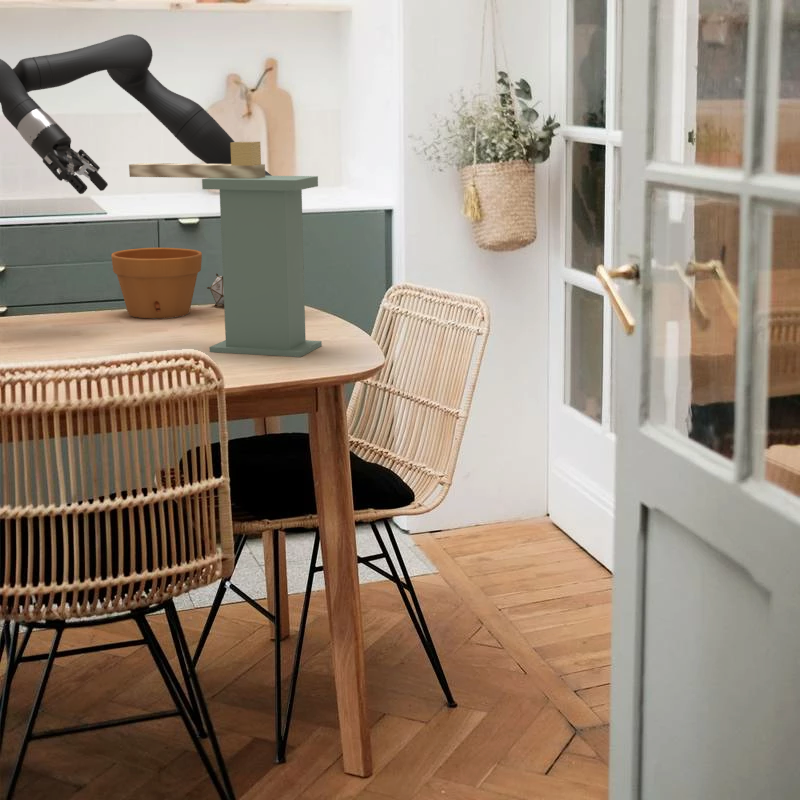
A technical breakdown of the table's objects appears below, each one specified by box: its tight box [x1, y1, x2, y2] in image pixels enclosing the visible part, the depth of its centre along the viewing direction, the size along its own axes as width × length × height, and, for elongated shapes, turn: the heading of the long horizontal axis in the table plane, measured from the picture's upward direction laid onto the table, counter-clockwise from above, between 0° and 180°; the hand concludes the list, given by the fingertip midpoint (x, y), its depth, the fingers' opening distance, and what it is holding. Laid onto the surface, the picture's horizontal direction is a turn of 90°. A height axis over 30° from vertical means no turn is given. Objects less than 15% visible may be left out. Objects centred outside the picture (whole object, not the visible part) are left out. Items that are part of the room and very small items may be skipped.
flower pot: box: [110, 247, 203, 319], centre depth 310 cm, size 21×21×15 cm
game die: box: [206, 272, 224, 307], centre depth 321 cm, size 9×8×10 cm
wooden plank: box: [128, 162, 266, 179], centre depth 264 cm, size 28×5×2 cm, turn 73°
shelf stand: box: [201, 175, 323, 358], centre depth 264 cm, size 20×12×35 cm, turn 73°
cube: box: [230, 141, 262, 166], centre depth 260 cm, size 4×4×4 cm
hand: (94, 189), depth 278 cm, fingers open, 8 cm apart
